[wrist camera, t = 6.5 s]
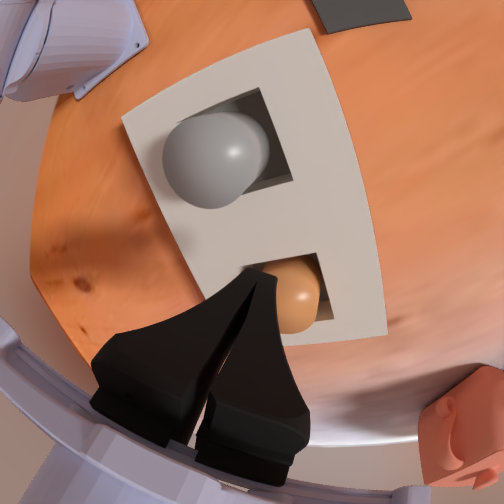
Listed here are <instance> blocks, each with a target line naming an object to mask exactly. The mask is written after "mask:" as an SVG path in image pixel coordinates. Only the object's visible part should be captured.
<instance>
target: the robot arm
mask: <svg viewBox="0 0 504 504" xmlns="http://www.w3.org/2000/svg"><path fill="white" fill-rule="evenodd" d="M138 44H139V48H137V46H138ZM148 44H149V38H148V36H147V33H146V31H145V28H144V26H143V23H142V21H141V18H140V15H139V13H138V10H137V8H136V5H135V2H134V0H0V104H1V102H2V99H3V96H4V95H5V96H7V97H8V98H10V99H13V100H16V101H22V102H27V101H31V100H36V99H40V98H45V97H49V96H54V95H60V94H65V93H71V92H74V95H75V98H76V99H81V98H83V97H84V96H85V95H86V94H87V93H88V92H89V91H90V90H91V89H93V88H94V87H95V86H96V85H97V84H98V83H100V82H101V81H102V80H103V79H104V78H106V77H107V76H108V75H109V74H111V73H112V72H113V71H114V70H116V69H117V68H118V67H120V66H121V65H122V64H123V63H125V62H126V61H128V60H129V59H130V58H132V57H133V56H134V55H136V54H137V53H139V52H140V51H142V50H143V49H144V48H146V47H147V46H148ZM277 282H278V278H277V277H276V276H274V275H271V274H268V273H265V272H262V271H259V270H256V269H254V268H251V267H247V268H245V269H244V270H243V271H242V272H241V273H240V274H239V275H238V276H237V277H236V278H234V279H233V280H232V281H231V282H230V283H228V284H227V285H226V286H225V287H223V288H222V289H221V290H219V291H218V292H217V293H215V294H214V295H212V296H211V297H209V298H208V299H206V300H205V301H203V302H201V303H200V304H198V305H196V306H194V307H193V308H191V309H189V310H187V311H185V312H183V313H181V314H178V315H176V316H174V317H172V318H170V319H167V320H165V321H162V322H159V323H156V324H153V325H150V326H147V327H144V328H140V329H136V330H132V331H128V332H123V333H118V334H115V335H114V336H113V337H112V338H111V339H110V340H109V341H107V342H106V343H105V344H104V346H103V347H102V348H101V349H100V351H99V352H98V353H97V354H96V356H95V357H94V358H93V359H92V361H91V367H92V371H93V373H94V375H95V377H96V380H97V382H98V384H99V386H100V387H99V388H98V390H97V391H96V393H95V394H94V395H93V396H91V395H90V394H88V393H87V392H85V391H84V390H82V389H81V388H79V387H78V386H76V385H75V384H73V383H72V382H71V381H69V380H68V379H66V378H65V377H64V376H62V375H61V374H59V373H58V372H57V371H56V370H54V369H53V368H52V367H51V366H49V365H48V364H47V363H46V362H44V361H43V360H42V359H41V358H39V357H38V356H37V355H36V354H35V353H33V352H32V351H31V350H30V349H29V348H28V347H26V346H25V345H24V344H23V343H22V342H21V339H20V337H19V335H18V334H17V332H16V331H15V330H14V328H12V326H11V325H10V324H8V323H7V322H6V321H5V320H4V319H3V318H2V317H1V316H0V391H1V392H2V393H3V394H4V395H5V396H6V397H7V398H8V399H9V400H10V401H11V402H12V403H13V404H14V405H15V406H16V407H17V408H18V409H19V410H20V411H21V412H22V413H23V414H24V415H25V416H26V417H27V418H28V419H29V420H31V421H32V422H33V423H34V424H35V425H36V426H37V427H38V428H40V429H41V430H42V431H43V432H44V433H45V434H47V435H48V436H49V437H50V438H52V439H53V440H54V441H55V442H57V443H56V444H55V446H54V447H53V449H52V450H51V452H50V453H49V455H48V456H47V458H46V460H45V461H44V463H43V464H42V466H41V467H40V469H39V470H38V472H37V474H36V475H35V477H34V478H33V480H32V482H31V483H30V485H29V487H28V488H27V490H26V492H25V493H24V495H23V497H22V498H21V500H20V502H19V503H18V504H429V503H430V489H431V486H430V485H414V486H413V485H411V486H403V487H400V488H397V489H395V490H394V491H383V490H365V489H353V488H344V487H335V486H329V485H322V484H316V483H310V482H304V481H299V480H294V479H290V478H287V474H288V471H289V467H290V466H291V465H292V464H293V460H294V456H295V454H297V453H298V452H299V451H301V450H302V449H303V448H305V447H306V446H307V444H308V443H309V438H310V411H309V409H308V407H307V405H306V404H305V402H304V400H303V398H302V396H301V394H300V392H299V390H298V387H297V385H296V383H295V381H294V378H293V375H292V373H291V370H290V367H289V364H288V362H287V359H286V355H285V352H284V348H283V344H282V340H281V335H280V330H279V324H278V316H277V304H276V289H277ZM231 348H232V349H231ZM230 350H231V351H230ZM229 352H230V353H229ZM228 354H229V355H228ZM227 356H228V357H227ZM226 357H227V359H226ZM225 359H226V361H225ZM224 361H225V363H224ZM223 363H224V364H223ZM222 365H223V366H222ZM221 367H222V368H221ZM220 369H221V370H220ZM219 371H220V372H219ZM218 373H219V374H218ZM207 398H208V399H207ZM206 400H207V404H206V408H205V413H204V418H203V420H202V423H201V425H200V427H199V429H198V431H197V434H196V436H197V437H196V443H195V449H193V448H190V447H188V446H187V445H188V443H189V440H190V438H191V436H192V433H193V431H194V428H195V426H196V424H197V421H198V419H199V417H200V414H201V412H202V410H203V407H204V405H205V403H206ZM217 479H218V480H221V481H224V482H228V483H231V484H234V485H237V486H240V487H244V488H247V489H250V490H248V492H245V491H242V490H239V489H237V488H234V487H231V486H228V485H226V484H223V483H221V482H219V481H218V480H217Z"/></svg>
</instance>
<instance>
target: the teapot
mask: <svg viewBox="0 0 504 504" xmlns="http://www.w3.org/2000/svg"><path fill="white" fill-rule="evenodd" d="M418 442H419V452H420V460H421V467H422V473H423V479H424V484H425V485H430V486H433V487H458V486H469V485H473V490H478V489H482V488H485V487H488V486H490V485H492V484H494V483H495V482H497V481H498V480H499V478H498V476H497V474H499V473H501V472H503V471H504V371H503V370H500V369H497V368H494V367H490V366H482V367H480V368H479V369H478V370H476V371H475V372H474V373H472V374H471V375H470V376H469V377H467V378H466V379H465V380H463V381H462V382H461V383H459V384H458V385H457V386H455V387H454V388H453V389H451V390H450V391H449V392H447V393H446V394H445V395H443V396H442V397H440V398H439V399H438V400H436V401H435V402H433V403H432V404H431V405H429V406H428V407H426V408H425V409H424V410H422V411H421V413H420V416H419V422H418Z"/></svg>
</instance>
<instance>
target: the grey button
mask: <svg viewBox="0 0 504 504" xmlns="http://www.w3.org/2000/svg"><path fill="white" fill-rule="evenodd" d="M269 156H270V145H269V140H268V137H267V134H266V132H265V131H264V129H263V127H262V126H261V125H260V124H259V123H258V122H257V121H256V120H255V119H254V118H252V117H251V116H249V115H247V114H244V113H242V112H237V111H225V112H219V113H214V114H208V115H203V116H198V117H193V118H190V119H187V120H185V121H183V122H181V123H180V124H179V125H177V126H176V127H175V128H174V129H173V130H172V131H171V133H170V134H169V136H168V138H167V140H166V142H165V145H164V148H163V155H162V163H163V170H164V174H165V176H166V179H167V181H168V183H169V185H170V186H171V188H172V189H173V190H174V192H175V193H176V194H177V195H178V196H179V197H180V198H181V199H183V200H184V201H186V202H187V203H189V204H191V205H193V206H196V207H199V208H203V209H217V208H222V207H225V206H227V205H229V204H231V203H232V202H234V201H235V200H236V199H237V198H238V197H239V196H240V195H241V194H242V193H243V192H244V191H245V190H246V189H247V188H248V187H249V186H250V185H251V184H252V183H253V182H254V181H255V180H256V179H257V178H258V177H259V176H260V175H261V174H262V172H263V171H264V170H265V168H266V166H267V164H268V161H269Z"/></svg>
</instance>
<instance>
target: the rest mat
mask: <svg viewBox="0 0 504 504" xmlns="http://www.w3.org/2000/svg"><path fill="white" fill-rule="evenodd" d="M312 2H313V4H314V6H315V8H316V10H317V12H318V14H319V16H320V18H321V20H322V23H323V25H324V27H325V29H326V31H327V33H328V34H332V33H336V32H340V31H344V30H349V29H354V28H359V27H364V26H370V25H375V24H382V23H389V22H396V21H405V20H411V19H412V17H411V15H410V12H409V10H408V8H407V6H406V4H405V2H404V0H312Z"/></svg>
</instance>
